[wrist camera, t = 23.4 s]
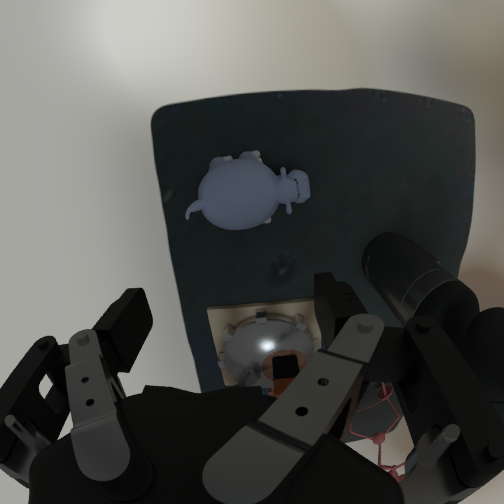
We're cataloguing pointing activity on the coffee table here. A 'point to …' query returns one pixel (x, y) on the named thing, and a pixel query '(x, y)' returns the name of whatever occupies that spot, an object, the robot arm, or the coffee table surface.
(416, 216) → the coffee table surface
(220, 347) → the sprocket base
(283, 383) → the battery
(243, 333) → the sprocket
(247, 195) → the hippopotamus toy
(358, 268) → the coffee table surface
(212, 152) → the coffee table surface
